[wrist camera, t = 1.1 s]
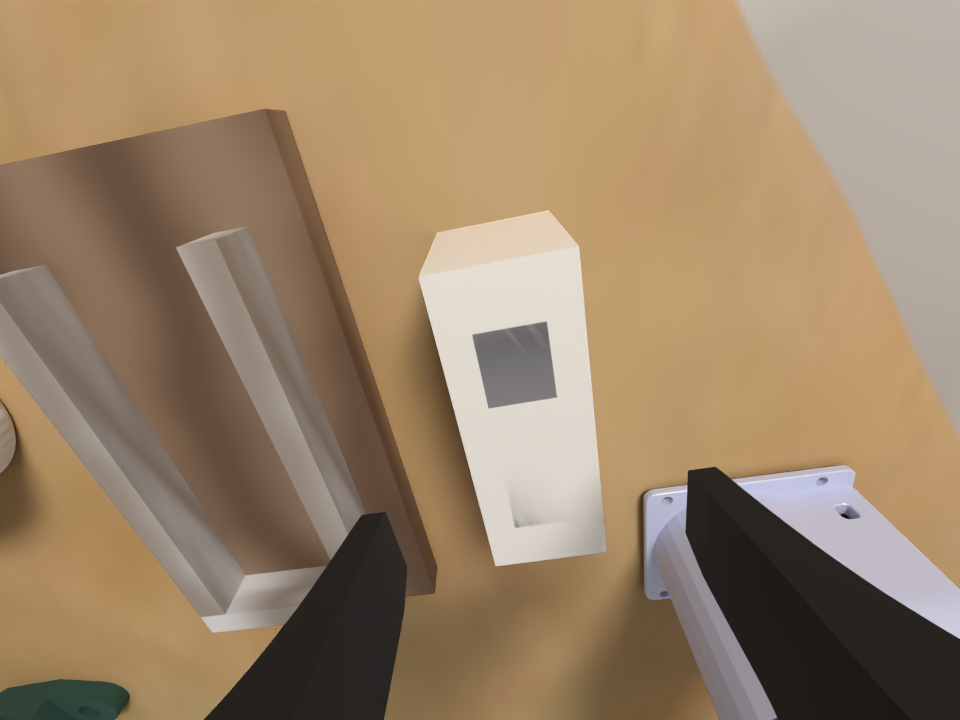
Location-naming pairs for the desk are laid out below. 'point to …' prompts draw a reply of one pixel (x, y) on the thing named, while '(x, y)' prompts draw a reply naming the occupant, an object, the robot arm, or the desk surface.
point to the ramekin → (6, 438)
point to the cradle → (203, 358)
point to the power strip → (520, 382)
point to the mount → (63, 701)
